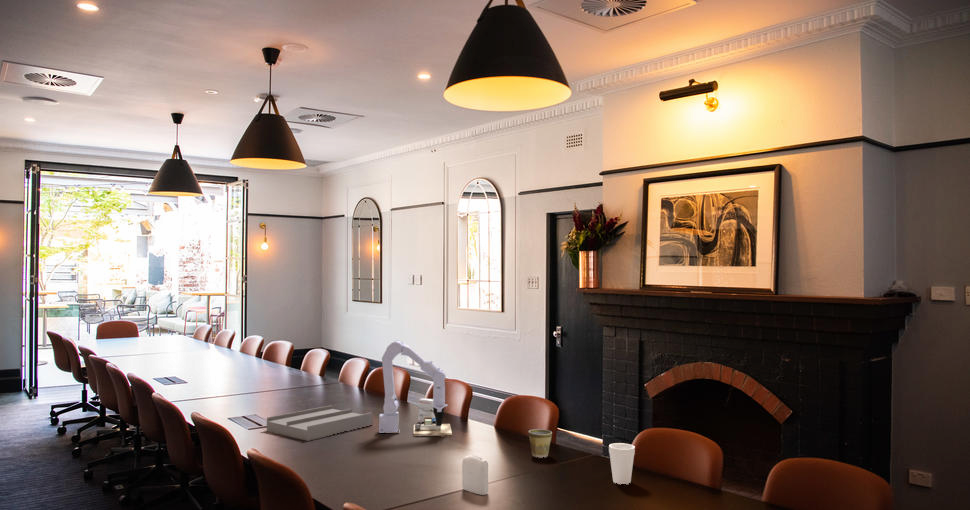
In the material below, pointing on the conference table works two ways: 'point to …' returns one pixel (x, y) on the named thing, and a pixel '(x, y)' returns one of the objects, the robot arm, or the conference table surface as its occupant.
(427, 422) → the block
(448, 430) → the base
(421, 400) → the ink box
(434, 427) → the lever
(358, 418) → the desk organizer
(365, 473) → the conference table surface
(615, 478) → the foam cup
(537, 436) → the ceramic cup
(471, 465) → the white upright slab
